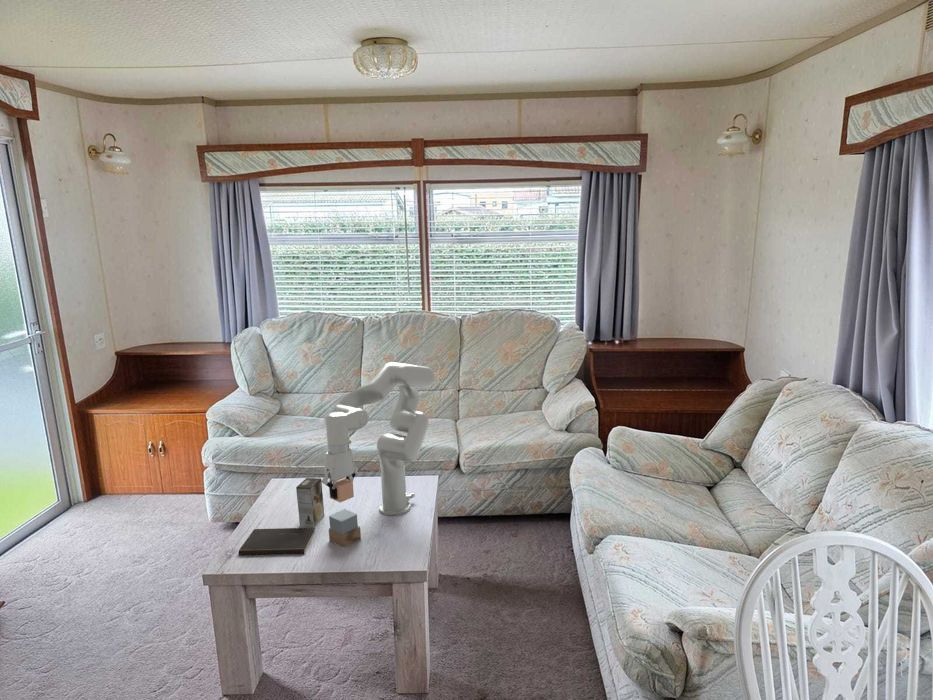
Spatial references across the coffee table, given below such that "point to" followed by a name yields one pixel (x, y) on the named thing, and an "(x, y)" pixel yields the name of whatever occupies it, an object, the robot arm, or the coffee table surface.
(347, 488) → the terracotta cube
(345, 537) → the tower bottom
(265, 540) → the hardcover book
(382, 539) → the coffee table surface
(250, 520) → the coffee table surface
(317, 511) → the coffee box
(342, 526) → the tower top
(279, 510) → the coffee table surface
